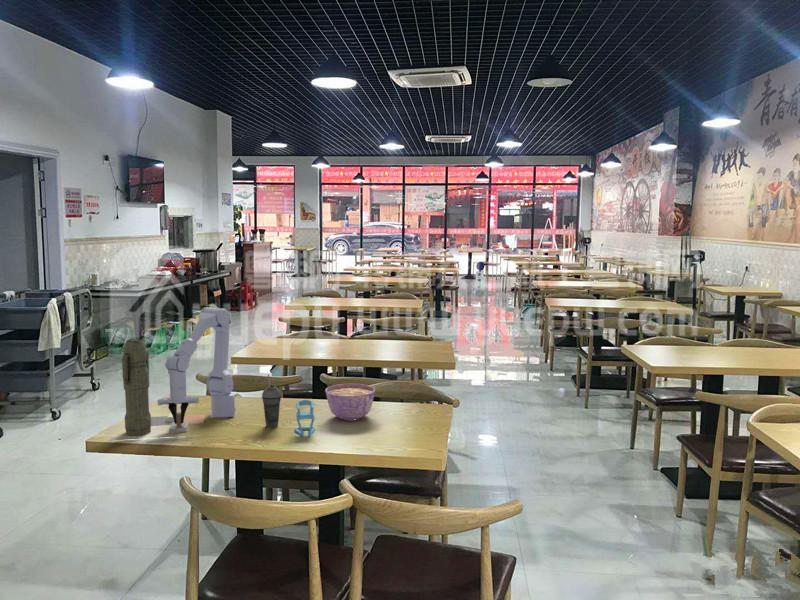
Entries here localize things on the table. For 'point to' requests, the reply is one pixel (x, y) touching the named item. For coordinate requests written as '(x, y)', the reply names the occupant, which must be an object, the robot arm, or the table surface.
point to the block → (170, 418)
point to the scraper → (179, 425)
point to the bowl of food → (350, 400)
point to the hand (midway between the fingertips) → (179, 422)
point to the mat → (187, 418)
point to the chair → (305, 417)
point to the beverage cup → (271, 405)
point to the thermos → (136, 387)
